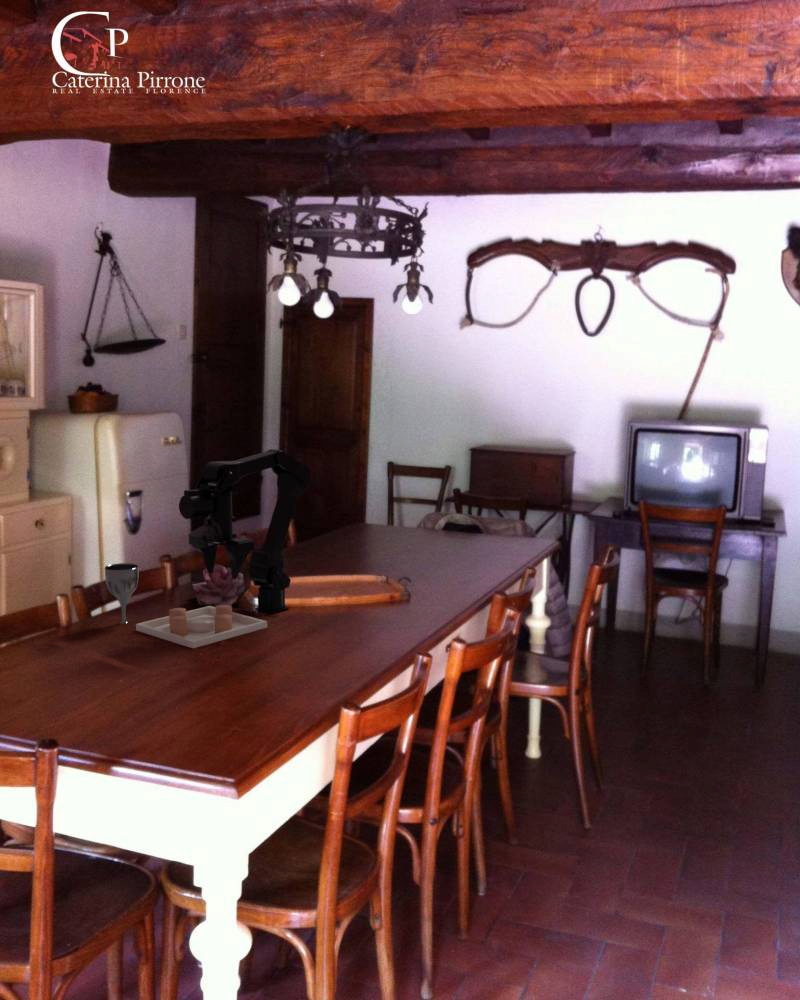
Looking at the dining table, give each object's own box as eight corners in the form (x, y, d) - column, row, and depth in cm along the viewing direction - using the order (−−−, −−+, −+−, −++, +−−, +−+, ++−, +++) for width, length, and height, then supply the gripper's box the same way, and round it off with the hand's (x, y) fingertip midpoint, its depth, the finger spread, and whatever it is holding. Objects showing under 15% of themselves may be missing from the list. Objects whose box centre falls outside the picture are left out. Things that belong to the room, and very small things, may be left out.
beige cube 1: (235, 631, 238) (235, 615, 238) (224, 636, 235) (223, 619, 234) (222, 629, 240) (222, 613, 240) (211, 633, 237) (210, 617, 236)
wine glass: (107, 632, 242) (104, 571, 240) (107, 623, 249) (104, 564, 247) (141, 629, 244) (138, 569, 242) (140, 620, 252) (138, 562, 249)
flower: (183, 589, 271) (189, 557, 267) (235, 590, 278) (242, 559, 274) (196, 618, 259) (203, 584, 255) (250, 618, 266) (258, 585, 262)
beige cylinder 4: (179, 622, 246) (179, 606, 245) (189, 625, 243) (189, 609, 243) (166, 626, 243) (165, 610, 242) (176, 629, 240) (175, 613, 240)
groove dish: (209, 615, 256) (209, 603, 256) (267, 631, 242) (267, 619, 242) (136, 634, 240) (135, 622, 240) (193, 652, 226) (192, 639, 225)
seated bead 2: (180, 631, 239) (180, 615, 238) (191, 634, 236) (190, 618, 235) (166, 635, 236) (166, 618, 235) (177, 638, 233) (176, 621, 232)
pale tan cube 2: (225, 619, 249) (224, 604, 248) (235, 622, 246) (235, 606, 245) (212, 623, 246) (211, 607, 245) (222, 626, 243) (222, 609, 242)
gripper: (169, 513, 245) (172, 576, 248) (218, 522, 233) (220, 588, 236) (206, 508, 254) (208, 568, 256) (255, 516, 242) (257, 579, 244)
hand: (222, 575), depth 248 cm, fingers open, 9 cm apart
